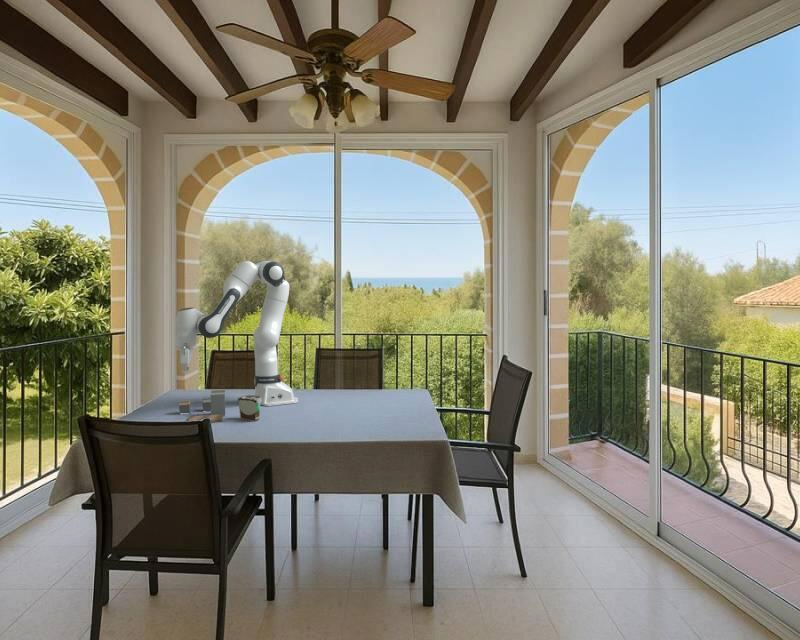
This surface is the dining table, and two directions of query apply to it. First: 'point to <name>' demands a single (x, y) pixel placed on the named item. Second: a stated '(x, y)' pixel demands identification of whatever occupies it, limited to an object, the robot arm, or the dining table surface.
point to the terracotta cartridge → (184, 406)
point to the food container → (249, 407)
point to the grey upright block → (217, 402)
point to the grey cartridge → (206, 403)
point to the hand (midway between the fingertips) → (185, 372)
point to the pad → (213, 417)
